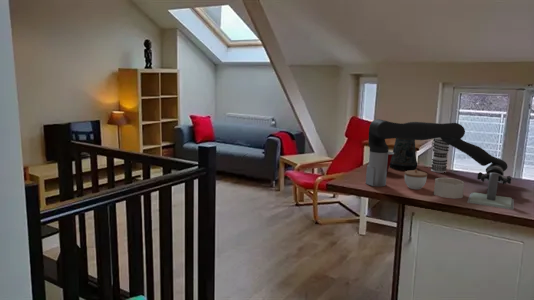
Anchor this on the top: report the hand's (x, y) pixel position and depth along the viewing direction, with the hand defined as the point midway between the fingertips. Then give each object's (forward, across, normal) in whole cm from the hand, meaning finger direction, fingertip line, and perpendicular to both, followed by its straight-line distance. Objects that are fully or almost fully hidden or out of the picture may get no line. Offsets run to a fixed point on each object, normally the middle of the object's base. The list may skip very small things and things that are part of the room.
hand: (493, 180), depth 199 cm
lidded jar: (+4, -34, +8) cm, 35 cm away
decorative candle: (-43, -30, +8) cm, 53 cm away
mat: (+9, 0, +8) cm, 12 cm away
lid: (+9, 0, +7) cm, 12 cm away
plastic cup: (-23, -57, +8) cm, 62 cm away
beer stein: (-41, -51, +8) cm, 66 cm away
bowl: (+9, -18, +8) cm, 22 cm away
